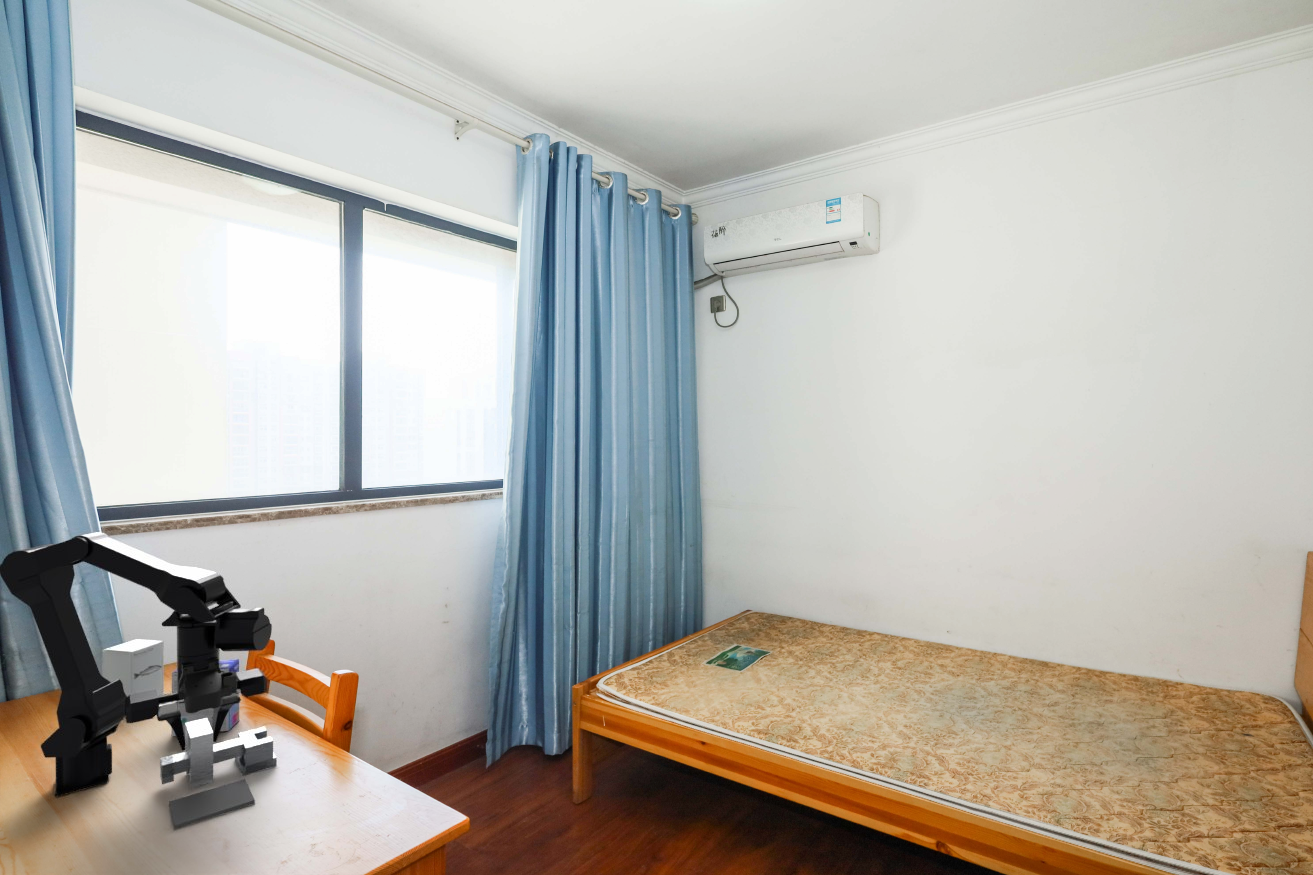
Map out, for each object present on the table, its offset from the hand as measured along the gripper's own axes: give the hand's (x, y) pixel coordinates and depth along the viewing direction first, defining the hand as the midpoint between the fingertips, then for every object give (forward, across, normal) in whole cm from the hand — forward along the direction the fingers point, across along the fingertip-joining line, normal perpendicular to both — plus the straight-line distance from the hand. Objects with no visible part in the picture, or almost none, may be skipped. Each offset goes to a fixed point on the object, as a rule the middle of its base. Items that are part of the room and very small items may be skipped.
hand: (199, 745), depth 108 cm
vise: (+6, +2, 0) cm, 6 cm away
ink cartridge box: (+6, +4, +21) cm, 22 cm away
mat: (+6, 0, -10) cm, 11 cm away
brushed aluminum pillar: (+1, 0, 0) cm, 1 cm away
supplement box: (+6, -6, +43) cm, 44 cm away
